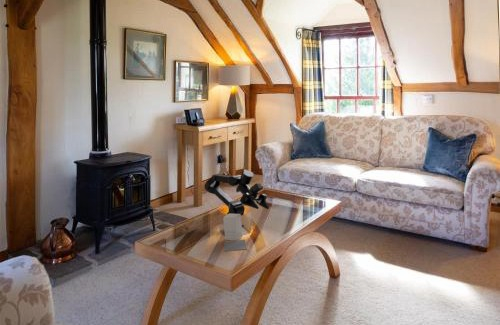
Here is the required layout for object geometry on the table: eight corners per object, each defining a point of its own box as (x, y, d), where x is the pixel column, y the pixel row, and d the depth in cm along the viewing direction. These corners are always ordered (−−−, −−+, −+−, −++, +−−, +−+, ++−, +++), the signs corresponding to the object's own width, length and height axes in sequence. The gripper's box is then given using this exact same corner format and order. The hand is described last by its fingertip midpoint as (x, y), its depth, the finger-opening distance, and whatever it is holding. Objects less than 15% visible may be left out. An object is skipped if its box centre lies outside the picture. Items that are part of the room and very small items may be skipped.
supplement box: (243, 236, 218) (241, 213, 216) (236, 240, 211) (235, 217, 210) (230, 235, 221) (229, 213, 219) (224, 239, 214) (222, 216, 213)
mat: (223, 242, 210) (223, 241, 210) (244, 240, 211) (244, 239, 211) (224, 251, 196) (224, 250, 196) (247, 249, 197) (247, 248, 197)
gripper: (242, 178, 216) (260, 196, 208) (263, 180, 231) (280, 197, 222) (232, 194, 220) (249, 212, 211) (253, 195, 234) (270, 212, 226)
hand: (263, 208), depth 217 cm, fingers open, 9 cm apart
